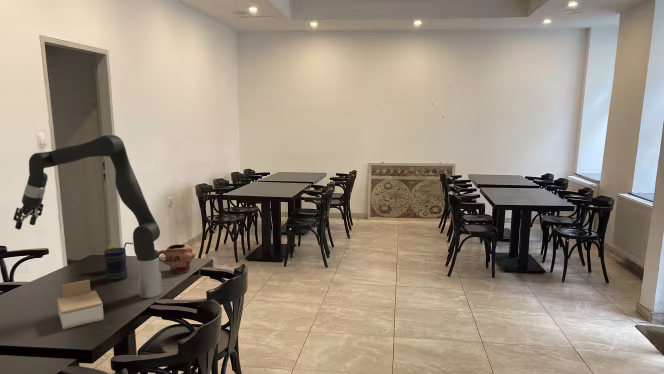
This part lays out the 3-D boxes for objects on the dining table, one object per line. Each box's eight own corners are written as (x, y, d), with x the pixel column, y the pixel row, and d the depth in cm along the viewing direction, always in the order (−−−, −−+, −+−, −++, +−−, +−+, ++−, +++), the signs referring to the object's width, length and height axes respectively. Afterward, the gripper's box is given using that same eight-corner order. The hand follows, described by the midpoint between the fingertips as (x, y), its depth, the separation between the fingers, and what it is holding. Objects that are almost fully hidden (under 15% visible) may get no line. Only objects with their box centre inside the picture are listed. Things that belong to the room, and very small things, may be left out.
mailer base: (96, 306, 187) (95, 293, 186) (103, 319, 174) (102, 305, 173) (58, 315, 179) (57, 301, 178) (63, 329, 166) (61, 314, 165)
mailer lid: (95, 292, 186) (94, 278, 185) (102, 304, 173) (101, 289, 172) (57, 300, 178) (55, 285, 177) (61, 313, 165) (60, 298, 164)
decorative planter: (155, 276, 224) (153, 250, 222) (159, 269, 235) (157, 244, 233) (195, 273, 228) (194, 247, 226) (197, 266, 240) (196, 241, 238)
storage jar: (105, 283, 214) (102, 254, 212) (107, 277, 223) (104, 248, 221) (127, 280, 218) (125, 251, 216) (128, 274, 227) (126, 246, 225)
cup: (137, 266, 240) (135, 240, 238) (132, 271, 232) (130, 243, 230) (110, 267, 239) (108, 240, 237) (104, 272, 231) (102, 244, 229)
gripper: (29, 199, 189) (20, 233, 192) (52, 194, 203) (43, 226, 206) (13, 193, 189) (4, 227, 192) (37, 188, 203) (29, 220, 206)
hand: (25, 226), depth 199 cm, fingers open, 8 cm apart
